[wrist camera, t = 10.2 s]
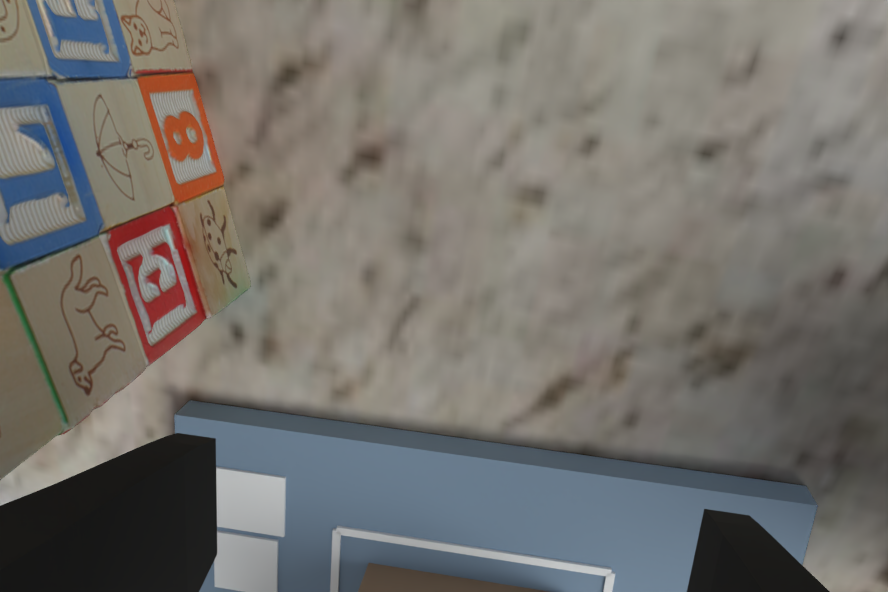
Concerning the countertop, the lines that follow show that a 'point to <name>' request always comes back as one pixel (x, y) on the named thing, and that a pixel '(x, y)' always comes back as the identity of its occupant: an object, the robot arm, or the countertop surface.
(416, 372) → the countertop surface
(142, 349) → the stack of blocks
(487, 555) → the blueprint board
